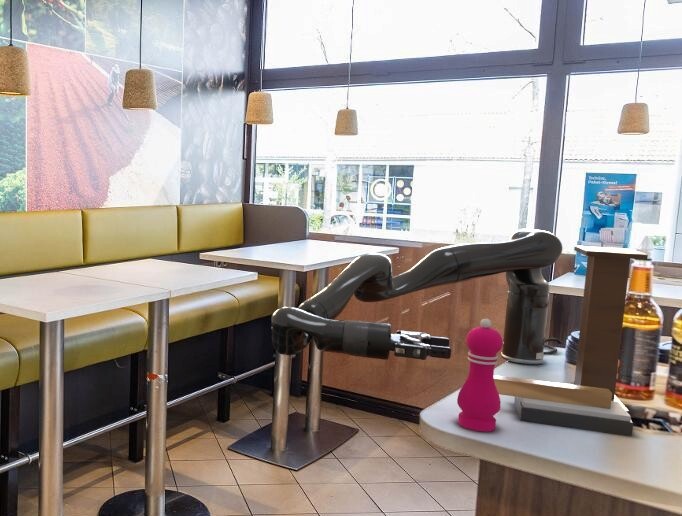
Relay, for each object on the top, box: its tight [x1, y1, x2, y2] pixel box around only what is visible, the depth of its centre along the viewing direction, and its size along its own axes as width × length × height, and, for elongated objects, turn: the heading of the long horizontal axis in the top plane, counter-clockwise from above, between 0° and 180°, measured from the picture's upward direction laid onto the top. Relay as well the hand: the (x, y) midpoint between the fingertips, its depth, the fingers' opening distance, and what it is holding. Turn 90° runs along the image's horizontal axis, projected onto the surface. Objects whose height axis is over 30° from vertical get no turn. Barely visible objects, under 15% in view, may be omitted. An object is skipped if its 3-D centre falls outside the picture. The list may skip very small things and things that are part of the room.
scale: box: [513, 396, 634, 437], centre depth 133 cm, size 10×18×4 cm, turn 69°
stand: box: [573, 245, 649, 415], centre depth 140 cm, size 12×10×32 cm
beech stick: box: [494, 374, 612, 409], centre depth 134 cm, size 3×22×3 cm, turn 69°
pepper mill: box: [456, 318, 503, 433], centre depth 127 cm, size 7×7×20 cm
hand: (449, 348), depth 141 cm, fingers open, 8 cm apart
